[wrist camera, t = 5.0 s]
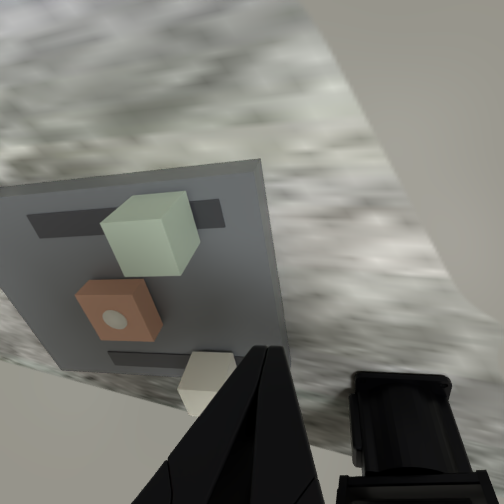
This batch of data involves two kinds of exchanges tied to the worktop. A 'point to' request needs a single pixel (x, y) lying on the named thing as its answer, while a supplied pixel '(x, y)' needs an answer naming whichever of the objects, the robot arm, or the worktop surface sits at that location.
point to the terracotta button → (120, 309)
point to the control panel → (160, 287)
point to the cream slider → (204, 379)
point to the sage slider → (152, 234)
